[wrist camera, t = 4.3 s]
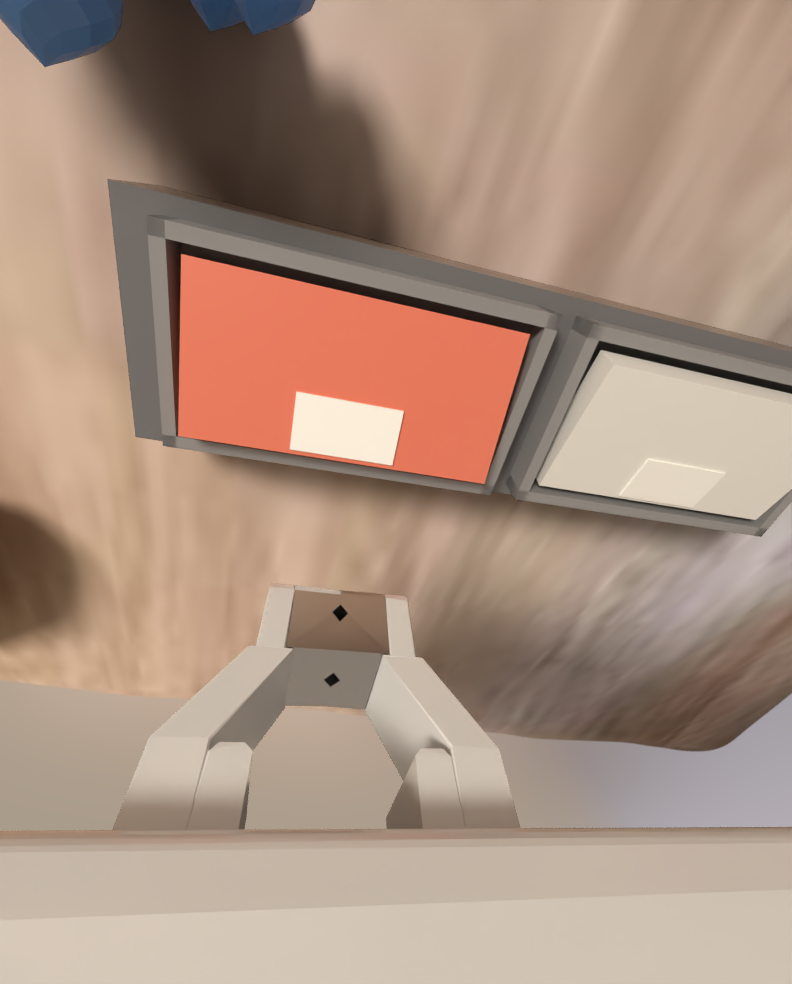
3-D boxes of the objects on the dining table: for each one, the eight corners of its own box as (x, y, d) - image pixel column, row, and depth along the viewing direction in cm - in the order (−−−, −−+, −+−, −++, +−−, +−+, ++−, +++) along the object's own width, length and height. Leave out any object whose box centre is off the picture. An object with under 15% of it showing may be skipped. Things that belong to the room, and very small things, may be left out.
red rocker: (193, 257, 15) (179, 253, 13) (518, 332, 17) (531, 334, 16) (188, 427, 17) (177, 436, 16) (476, 473, 19) (484, 485, 18)
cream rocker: (600, 349, 16) (615, 365, 15) (846, 406, 19) (871, 423, 18) (531, 468, 20) (539, 486, 19) (740, 503, 23) (757, 521, 22)
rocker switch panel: (157, 185, 17) (83, 175, 12) (897, 374, 24) (1025, 412, 19) (170, 401, 21) (120, 452, 17) (784, 506, 28) (865, 561, 24)
